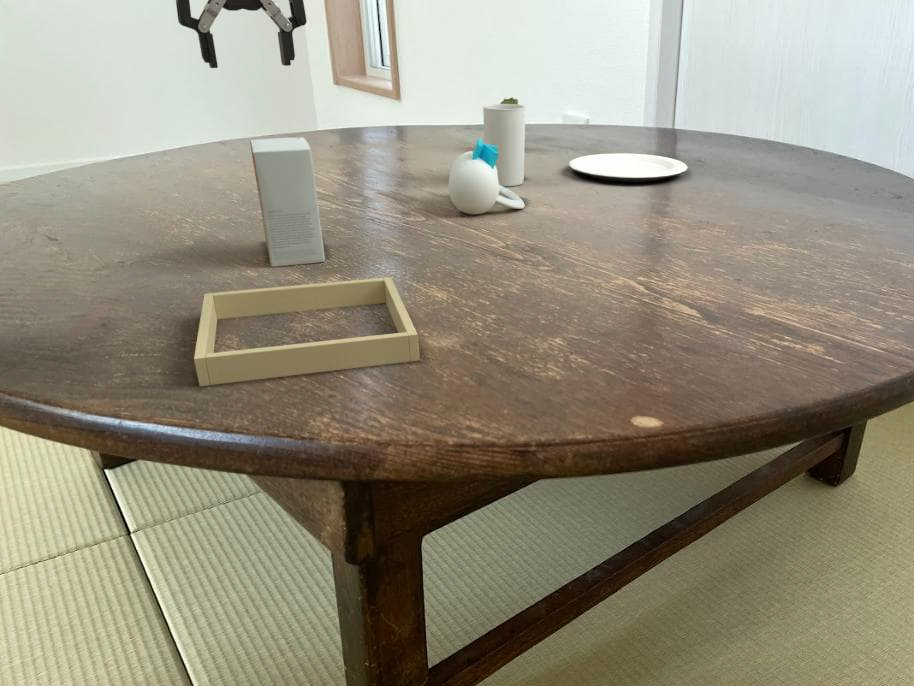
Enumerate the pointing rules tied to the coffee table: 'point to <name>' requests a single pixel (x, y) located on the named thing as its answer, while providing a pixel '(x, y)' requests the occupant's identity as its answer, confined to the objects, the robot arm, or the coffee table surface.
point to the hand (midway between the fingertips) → (250, 66)
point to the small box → (288, 200)
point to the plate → (628, 167)
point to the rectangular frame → (302, 355)
